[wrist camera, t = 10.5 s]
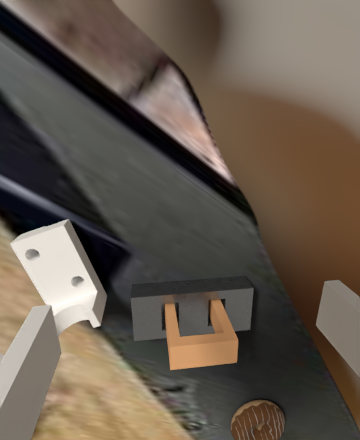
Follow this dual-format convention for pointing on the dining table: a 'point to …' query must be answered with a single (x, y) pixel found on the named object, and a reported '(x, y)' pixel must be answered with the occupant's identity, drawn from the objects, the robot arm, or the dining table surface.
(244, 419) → the donut
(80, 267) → the bracket
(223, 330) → the clip
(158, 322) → the grey slotted block
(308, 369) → the dining table surface
